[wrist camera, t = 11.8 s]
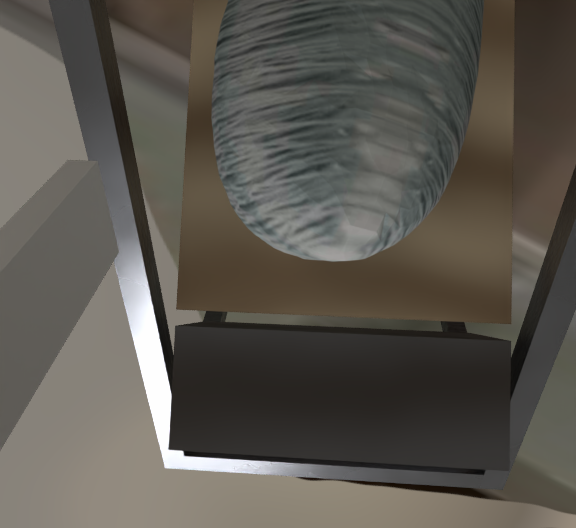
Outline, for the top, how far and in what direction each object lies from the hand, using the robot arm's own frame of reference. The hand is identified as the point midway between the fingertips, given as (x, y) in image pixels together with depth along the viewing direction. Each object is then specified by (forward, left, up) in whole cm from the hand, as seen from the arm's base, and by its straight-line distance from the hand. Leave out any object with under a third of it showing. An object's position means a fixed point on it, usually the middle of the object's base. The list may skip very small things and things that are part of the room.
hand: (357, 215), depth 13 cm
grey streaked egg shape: (0, +1, -11) cm, 11 cm away
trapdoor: (0, +8, -13) cm, 15 cm away
